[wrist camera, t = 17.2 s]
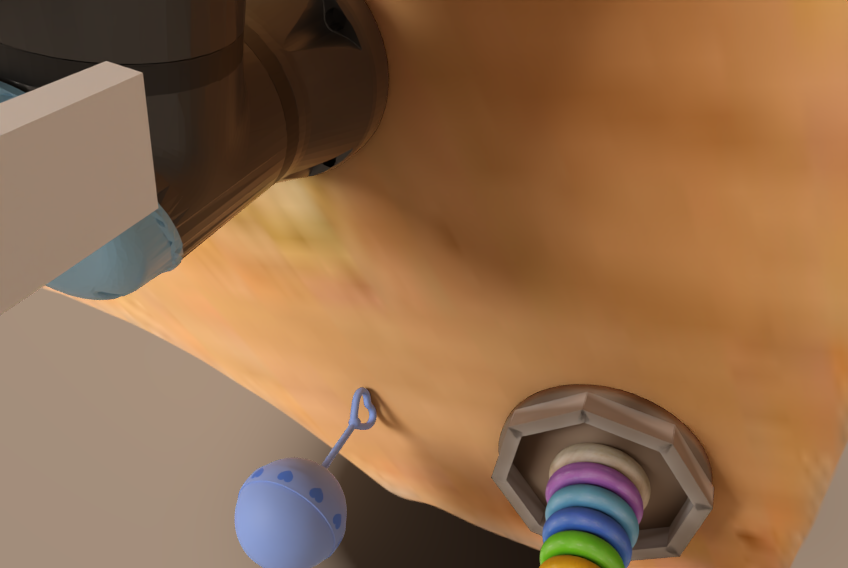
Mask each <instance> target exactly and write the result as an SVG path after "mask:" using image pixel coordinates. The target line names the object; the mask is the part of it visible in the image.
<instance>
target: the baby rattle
mask: <svg viewBox="0 0 848 568" xmlns="http://www.w3.org/2000/svg"><path fill="white" fill-rule="evenodd" d="M362 395H363V399H364V405H365V407H366V408H367V409H368V410H369V420H368V422H367V423H361V421H360V419H359V418H358V409H359V402H360V398H361V396H362ZM375 421H376V409H375V407H374V405H373V404H372V403H371V396H370V393H369V391H368V390H367V389H366V388H363V387H361V388H359V389H357V390H356V392H355V393H354V396H353V400H352V405H351V414H350V420H349V426H348V427H347V429H346V430H345V432H344V433H343V434H342V436H341V438H340V439H339V440H338V442H337V443H336V444H335V446H334V447H333V449H332V450H331V452H330V453H329V455H328V456H327V457H326V459H325V461H324V462H323V463H322V465H320V464H318V463H316V462H314V461H311V460H308V459H304V458H284V459H280V460H276V461H274V462H271V463H269V464H267V465H265V466H262V467H260V468H258V469H257V470H256V471H254V472H253V473H252V474H251V476H249V478H248V479H247V480H246V482H245V483H244V484H243V486H242V488H241V490H240V491H239V495H238V501H237V504H236V509H235V529H236V533H237V537H238V540H239V542H240V544H241V546H242V548H243V550H244V551H245V552H246V554H247V555H248V556H249V557H250V558H251V559H252V560H253V561H254V562H255V563H257V564H258V565H260V566H261V567H263V568H312V567H314V566H316V565H317V564H319V563H320V562H322V561H323V560H325V559H327V558H329V557H330V556H331V555H332V554H333V553H334V551H335V550H336V549H337V547H338V546H339V544H340V542H341V540H342V538H343V536H344V533H345V529H346V515H347V514H346V513H347V511H346V501H345V497H344V493H343V491H342V488H341V486H340V484H339V483H338V481H337V480H336V478H335V477H334V476H333V475H332V473H331V472H329V471H328V470H327V468H328V467H329V465H330V464H331V462H332V461H333V459H334V458H335V457H336V455H337V454H338V452H339V451H340V449H341V448H342V446H343V445H344V444H345V442H346V440H347V439H348V438H349V436H350V435H351V433H352V432H353V430H354V429H360V430H366V429H370V428H371V427H372V426H373V425H374V423H375Z"/></svg>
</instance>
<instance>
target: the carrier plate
mask: <svg viewBox="0 0 848 568" xmlns="http://www.w3.org/2000/svg"><path fill="white" fill-rule="evenodd" d="M582 443H595V444H602V445H606V446H610V447H613V448H615V449H618V450H620V451H622V452H624V453H626V454H627V455H629V456H630V457H632V458H633V459H634V460H635V461H636V462H637V463H638V464H639V465H640V466H641V467H642V468H643V470H644V471H645V473H646V475H647V477H648V479H649V482H650V488H651V494H650V499H649V502H648V504H647V506H646V508H645V509H644V510H643V517H642V519H641V522H640V523H639V535H638V539H637V542H636V544H635V545H634V547H633V548H632V557H631V561H632V560H644V559H656V558H667V557H680V555H681V554H682V552H683V551H684V549H685V548H686V546H687V545H688V544H689V542H690V541H691V539H692V538H693V536H694V535H695V533H696V532H697V530H698V529H699V528H700V526H701V525H702V523H703V522H704V520H705V519H706V517H707V516H708V515H709V513H710V512H711V510H712V509H713V498H714V487H713V486H712V472H711V466H710V463H709V460H708V457H707V455H706V453H705V451H704V449H703V447H702V445H701V444H700V442H699V441H698V440H697V438H696V437H695V435H694V434H693V433H692V432H691V431H690V430H689V429H688V428H687V427H686V426H685V425H684V424H683V423H682V422H681V421H679V420H678V419H677V418H676V417H675V416H673V415H672V414H670V413H669V412H667V411H666V410H665V409H663V408H661V407H660V406H658V405H656V404H654V403H652V402H650V401H648V400H646V399H644V398H641V397H639V396H637V395H634V394H631V393H628V392H625V391H622V390H618V389H614V388H609V387H604V386H596V385H577V384H576V385H564V386H558V387H553V388H549V389H546V390H543V391H540V392H537V393H535V394H533V395H531V396H529V397H527V398H526V399H525V400H523V401H522V402H520V403H519V404H518V405H517V406H516V407H515V408H514V409H513V410H512V412H511V413H510V415H509V416H508V418H507V420H506V422H505V425H504V427H503V429H502V432H501V435H500V439H499V456H498V459H497V462H496V465H495V468H494V471H493V474H492V477H491V478H492V479H493V481H494V482H495V483H496V485H497V486H498V487H499V489H500V490H501V491H502V493H503V494H504V495H505V497H506V498H507V499H508V501H509V502H510V504H511V505H512V506H513V508H514V509H515V510H516V512H517V513H518V514H519V516H520V517H521V518H522V520H523V521H524V522H525V524H526V525H527V526H528V528H529V529H530V531H532V532H534V533H536V534H539V535H541V536H542V533H543V527H544V524H545V522H546V518H545V511H546V506H547V501H546V495H545V493H546V486H547V483H548V481H549V469H550V465H551V463H552V461H553V459H554V458H555V457H556V455H557V454H558V453H560V452H561V451H562V450H563V449H565V448H567V447H569V446H572V445H576V444H582Z"/></svg>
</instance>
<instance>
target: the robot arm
mask: <svg viewBox="0 0 848 568" xmlns="http://www.w3.org/2000/svg"><path fill="white" fill-rule="evenodd" d="M387 94H388V64H387V57H386V52H385V48H384V44H383V40H382V37H381V34H380V31H379V29H378V26H377V24H376V21H375V19H374V17H373V15H372V13H371V11H370V10H369V8H368V6H367V4H366V3H365V1H364V0H0V316H1V315H2V314H4V313H5V312H7V311H8V310H9V309H11V308H12V307H14V306H15V305H17V304H18V303H20V302H21V301H23V300H24V299H26V298H27V297H29V296H30V295H32V294H33V293H34V292H36V291H37V290H39V289H40V288H42V287H43V286H45V285H46V286H48V287H50V288H53V289H55V290H57V291H60V292H63V293H65V294H68V295H71V296H75V297H80V298H84V299H92V300H108V299H115V298H118V297H121V296H125V295H127V294H130V293H132V292H134V291H136V290H137V289H139V288H140V287H142V286H143V285H145V284H146V283H148V282H149V281H150V280H152V279H153V278H155V277H156V276H158V275H159V274H161V273H164V272H167V271H171V270H173V269H174V268H176V267H177V266H178V265H179V264H180V263H181V260H182V259H183V258H184V257H185V256H186V255H188V254H189V253H190V252H191V251H193V250H194V249H195V248H196V247H197V246H199V245H200V244H201V243H202V242H204V241H205V240H206V239H207V238H208V237H210V236H211V235H212V234H213V233H215V232H216V231H217V230H218V229H219V228H221V227H222V226H223V225H224V224H226V223H227V222H228V221H229V220H230V219H232V218H233V217H234V216H235V215H237V214H238V213H239V212H240V211H241V210H243V209H244V208H245V207H246V206H248V205H249V204H250V203H251V202H252V201H254V200H255V199H256V198H257V197H259V196H260V195H261V194H263V193H264V192H265V191H266V190H268V189H269V188H270V187H271V186H272V185H274V184H275V183H278V182H283V181H288V180H293V179H298V178H303V177H308V176H313V175H317V174H321V173H324V172H327V171H329V170H331V169H333V168H335V167H337V166H339V165H341V164H342V163H344V162H345V161H346V160H348V159H349V158H350V157H351V156H352V155H353V154H355V153H356V152H357V151H358V150H359V149H360V148H361V147H363V146H364V145H365V144H366V142H367V141H368V140H369V139H370V138H371V136H372V135H373V134H374V132H375V130H376V129H377V127H378V125H379V123H380V121H381V118H382V116H383V112H384V109H385V105H386V101H387Z"/></svg>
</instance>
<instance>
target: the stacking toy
mask: <svg viewBox="0 0 848 568" xmlns="http://www.w3.org/2000/svg"><path fill="white" fill-rule="evenodd" d="M650 494H651V488H650V482H649V479H648V477H647V475H646V473H645V471H644V470H643V468H642V467H641V466H640V465H639V464H638V463H637V462H636V461H635V460H634V459H633V458H632V457H630V456H629V455H627V454H626V453H624V452H622V451H620V450H618V449H615V448H613V447H610V446H606V445H602V444H595V443H582V444H576V445H572V446H569V447H567V448H565V449H563V450H562V451H561V452H560V453H558V454H557V455H556V457H555V458H554V459H553V461H552V463H551V465H550V469H549V481H548V483H547V486H546V493H545V495H546V501H547V506H546V511H545V518H546V522H545V524H544V527H543V533H542V537H543V543H544V544H543V546H542V548H541V551H540V563H541V565H540V567H539V568H627V567H628V565H629V563H630V561H631V557H632V548H633V547H634V545H635V544H636V542H637V539H638V535H639V523H640V522H641V519H642V517H643V510H644V509H645V508H646V506H647V504H648V502H649V499H650Z"/></svg>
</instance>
